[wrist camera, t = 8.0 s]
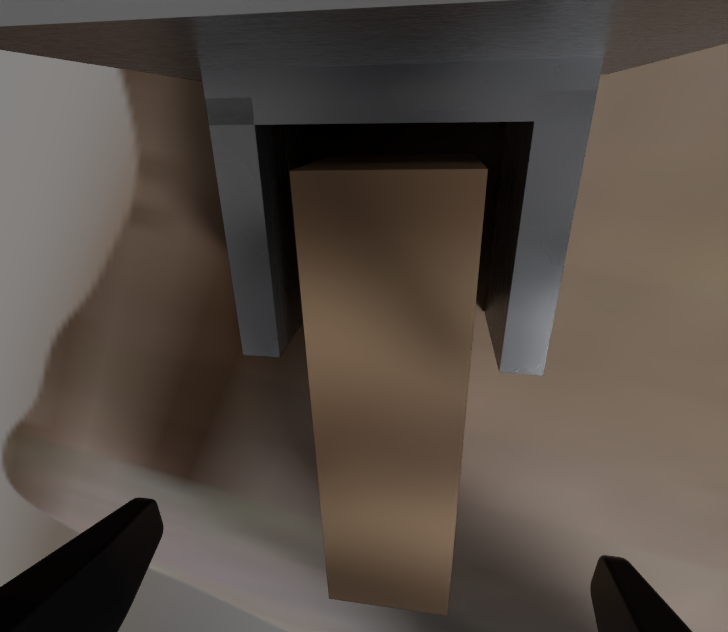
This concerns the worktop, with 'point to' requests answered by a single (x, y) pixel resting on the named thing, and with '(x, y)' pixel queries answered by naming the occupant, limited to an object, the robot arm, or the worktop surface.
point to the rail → (389, 362)
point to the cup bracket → (383, 113)
